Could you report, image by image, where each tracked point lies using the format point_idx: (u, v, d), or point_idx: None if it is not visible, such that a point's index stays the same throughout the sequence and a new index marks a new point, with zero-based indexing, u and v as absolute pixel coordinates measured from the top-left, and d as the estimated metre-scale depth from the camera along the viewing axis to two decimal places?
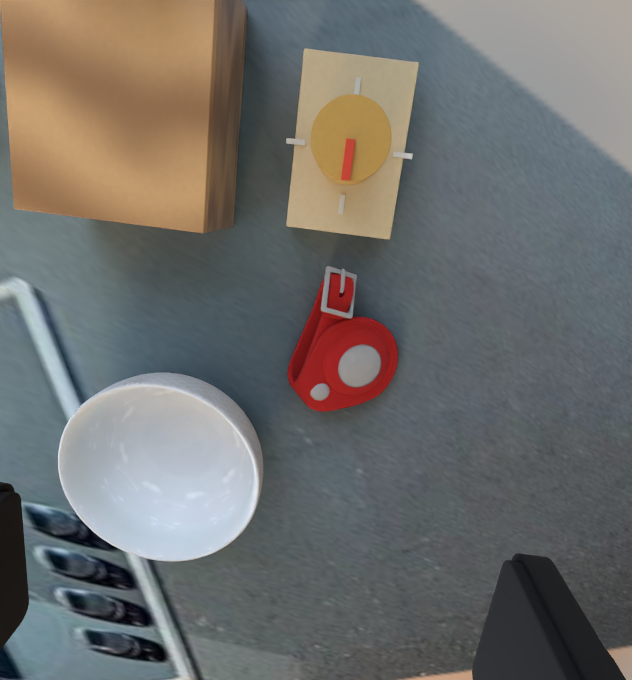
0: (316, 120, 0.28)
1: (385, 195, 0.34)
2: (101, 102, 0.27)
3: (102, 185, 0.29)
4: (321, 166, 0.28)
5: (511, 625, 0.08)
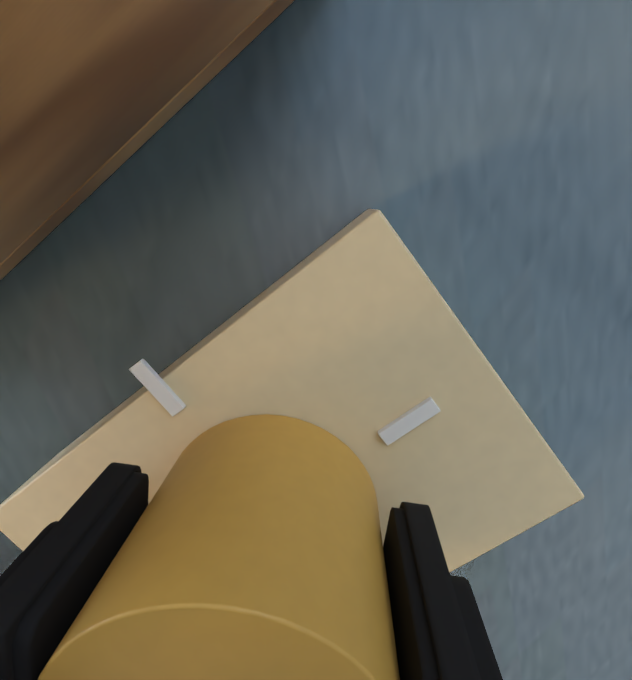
0: (139, 621, 0.05)
1: None
2: None
3: None
4: None
5: (389, 561, 0.09)
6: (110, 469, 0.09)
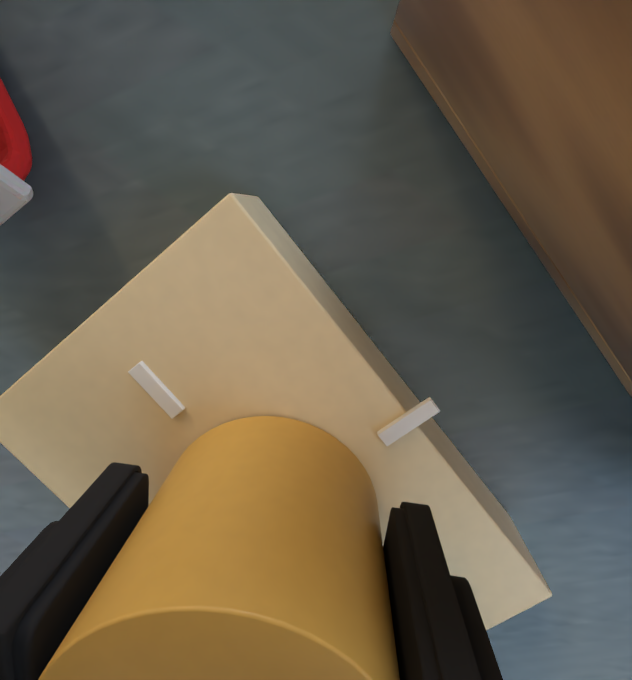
0: (137, 623, 0.05)
1: None
2: None
3: None
4: None
5: (389, 561, 0.09)
6: (110, 469, 0.09)
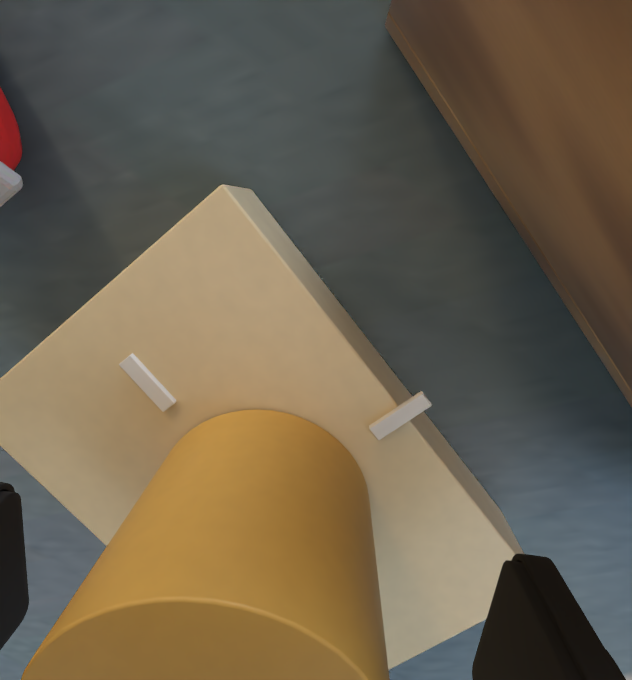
0: (123, 615, 0.05)
1: (84, 487, 0.11)
2: None
3: None
4: None
5: (511, 625, 0.08)
6: None
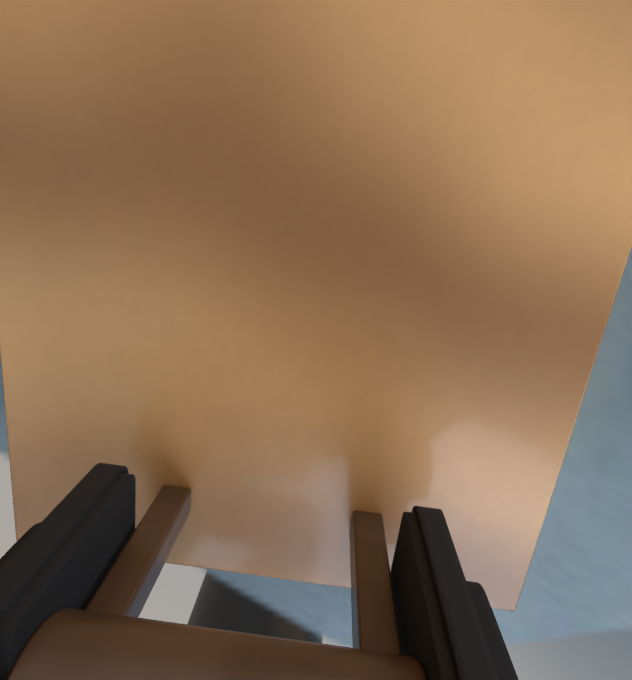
0: None
1: None
2: (326, 183, 0.09)
3: None
4: None
5: (402, 566, 0.09)
6: (96, 470, 0.09)
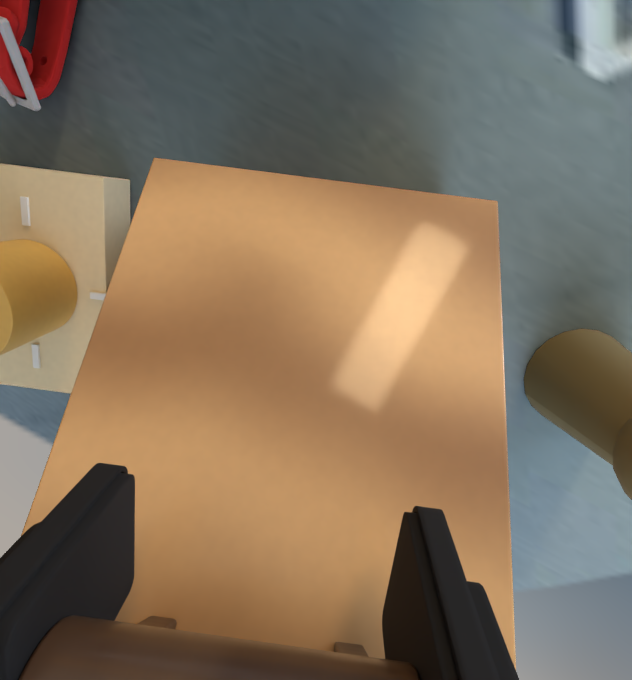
0: None
1: None
2: (309, 359, 0.14)
3: (327, 228, 0.15)
4: None
5: (403, 566, 0.09)
6: (95, 470, 0.09)
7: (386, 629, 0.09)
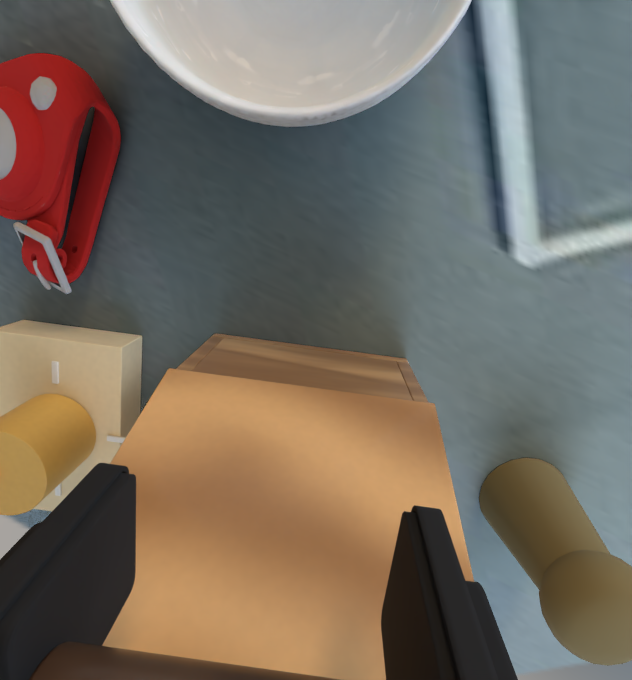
0: (12, 437, 0.23)
1: (5, 380, 0.28)
2: (289, 513, 0.15)
3: (304, 417, 0.19)
4: None
5: (402, 566, 0.09)
6: (97, 470, 0.09)
7: (385, 629, 0.09)
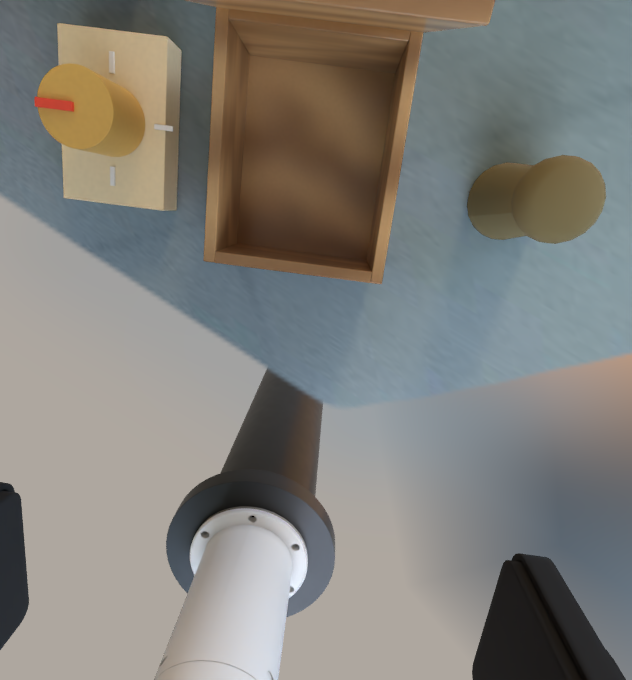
0: (86, 69, 0.28)
1: None
2: None
3: None
4: (46, 75, 0.29)
5: (511, 625, 0.08)
6: None
7: None
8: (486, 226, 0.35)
